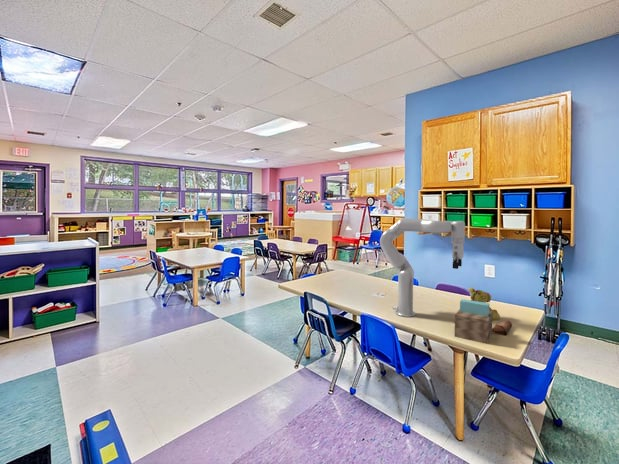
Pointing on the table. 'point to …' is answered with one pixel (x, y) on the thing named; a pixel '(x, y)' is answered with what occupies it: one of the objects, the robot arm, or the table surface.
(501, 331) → the sunglasses case
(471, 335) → the brown wooden block
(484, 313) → the teal block
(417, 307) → the table surface
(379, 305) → the table surface
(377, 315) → the table surface
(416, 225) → the robot arm
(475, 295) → the giraffe plush
